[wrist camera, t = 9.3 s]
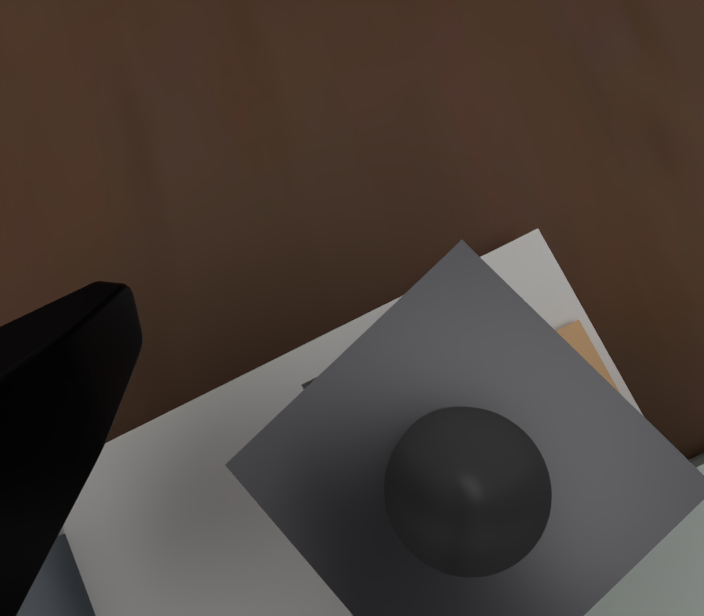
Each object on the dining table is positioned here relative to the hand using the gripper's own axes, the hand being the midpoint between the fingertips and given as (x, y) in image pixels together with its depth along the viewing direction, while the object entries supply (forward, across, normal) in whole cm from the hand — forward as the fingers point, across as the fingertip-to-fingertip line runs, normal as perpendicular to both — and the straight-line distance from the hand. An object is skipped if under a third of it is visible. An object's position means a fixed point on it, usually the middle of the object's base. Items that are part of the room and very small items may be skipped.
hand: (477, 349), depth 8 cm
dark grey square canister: (+8, 0, +10) cm, 13 cm away
